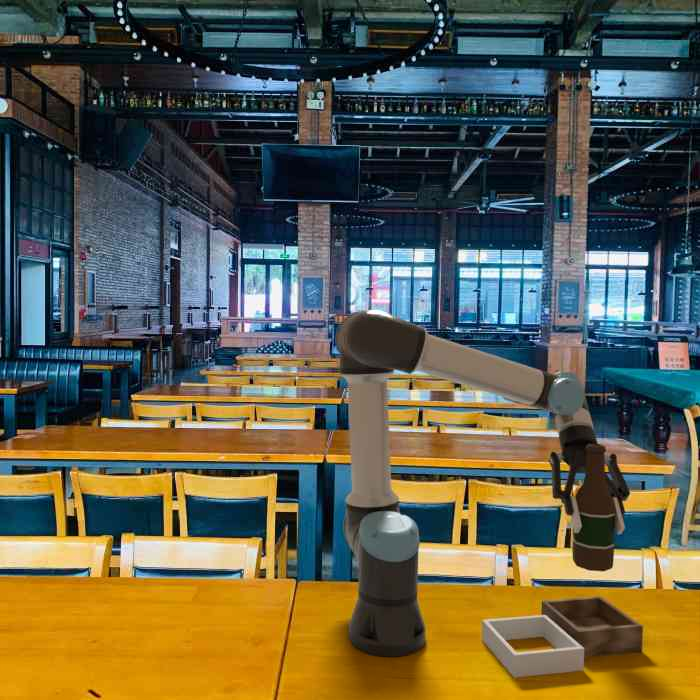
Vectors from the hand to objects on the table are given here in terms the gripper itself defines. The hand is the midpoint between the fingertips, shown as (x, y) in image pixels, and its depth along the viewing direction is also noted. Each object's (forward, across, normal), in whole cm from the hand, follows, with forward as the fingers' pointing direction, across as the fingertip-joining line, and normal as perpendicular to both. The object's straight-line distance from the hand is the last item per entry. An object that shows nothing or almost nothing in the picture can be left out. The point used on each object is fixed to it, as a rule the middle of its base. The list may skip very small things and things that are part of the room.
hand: (599, 530), depth 121 cm
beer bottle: (+3, 0, -8) cm, 9 cm away
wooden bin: (+14, 0, -18) cm, 23 cm away
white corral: (+19, +14, -13) cm, 27 cm away
